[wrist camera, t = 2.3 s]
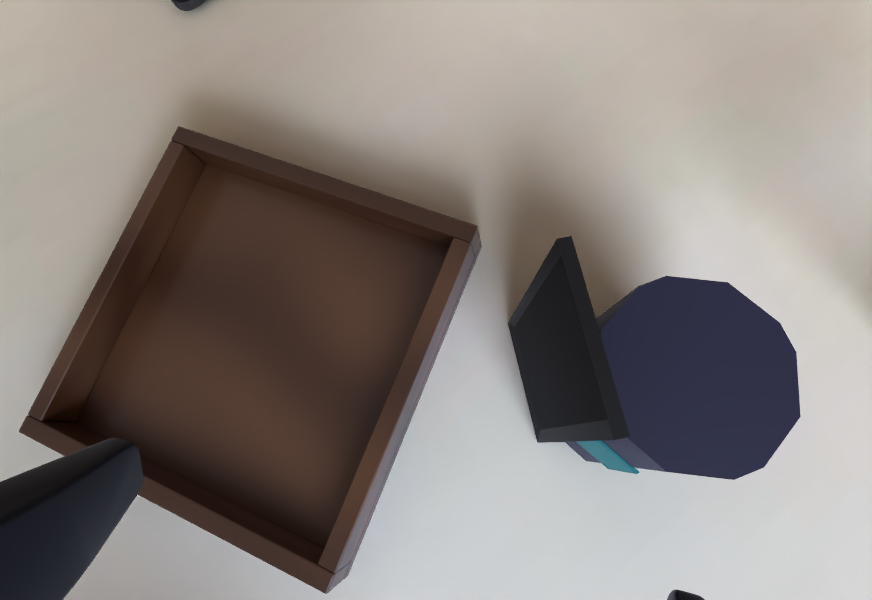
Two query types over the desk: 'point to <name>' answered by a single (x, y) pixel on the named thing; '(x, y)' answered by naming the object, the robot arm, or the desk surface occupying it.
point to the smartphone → (187, 4)
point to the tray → (260, 349)
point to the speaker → (655, 373)
